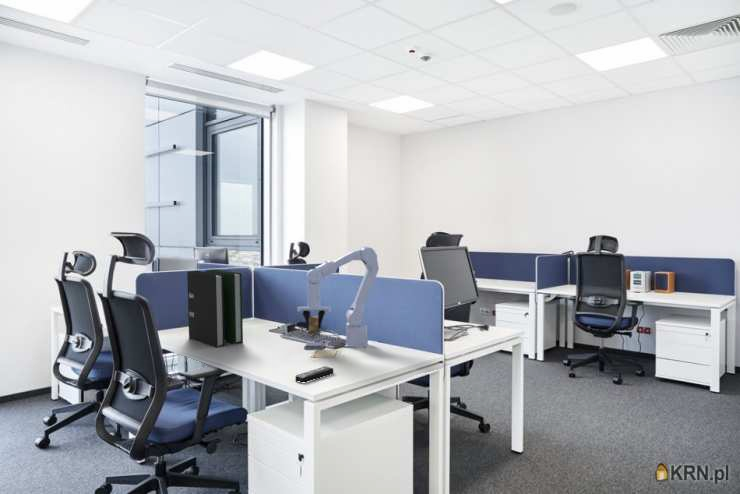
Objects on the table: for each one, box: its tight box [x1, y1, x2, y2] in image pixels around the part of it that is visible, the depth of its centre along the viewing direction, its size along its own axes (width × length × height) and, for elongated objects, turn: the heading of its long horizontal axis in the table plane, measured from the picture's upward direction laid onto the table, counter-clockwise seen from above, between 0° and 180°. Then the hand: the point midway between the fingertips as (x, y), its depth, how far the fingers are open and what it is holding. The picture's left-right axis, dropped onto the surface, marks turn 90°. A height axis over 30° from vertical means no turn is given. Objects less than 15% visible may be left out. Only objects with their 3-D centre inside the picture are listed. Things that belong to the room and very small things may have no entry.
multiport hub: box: [295, 365, 334, 383], centre depth 176 cm, size 4×14×2 cm, turn 139°
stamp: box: [307, 315, 322, 335], centre depth 217 cm, size 5×5×7 cm
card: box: [310, 349, 342, 358], centre depth 207 cm, size 11×11×1 cm
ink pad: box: [303, 342, 325, 350], centre depth 218 cm, size 8×6×2 cm
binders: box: [186, 269, 244, 349], centre depth 232 cm, size 27×15×32 cm, turn 44°
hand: (314, 328), depth 217 cm, fingers closed on stamp, 4 cm apart
